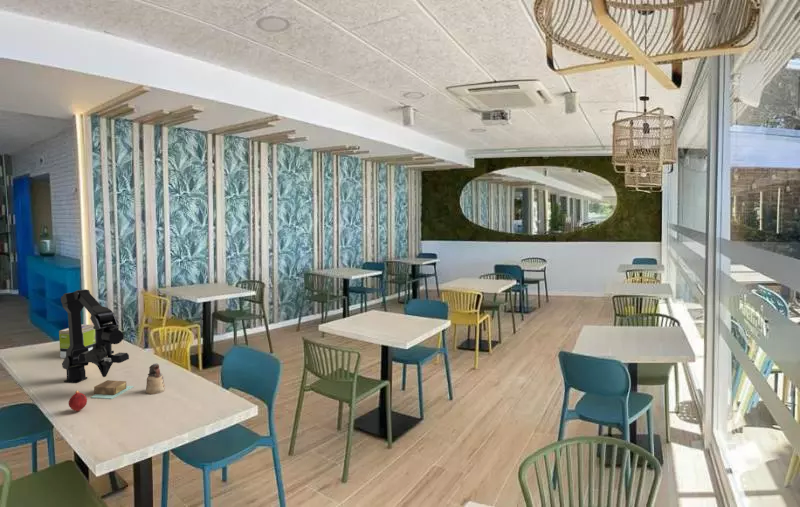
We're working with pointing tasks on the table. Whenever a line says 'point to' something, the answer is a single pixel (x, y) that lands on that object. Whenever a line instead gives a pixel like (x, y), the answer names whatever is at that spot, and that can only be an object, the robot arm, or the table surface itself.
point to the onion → (77, 401)
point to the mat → (111, 395)
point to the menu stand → (110, 387)
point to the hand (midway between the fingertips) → (104, 376)
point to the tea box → (87, 336)
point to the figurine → (155, 380)
